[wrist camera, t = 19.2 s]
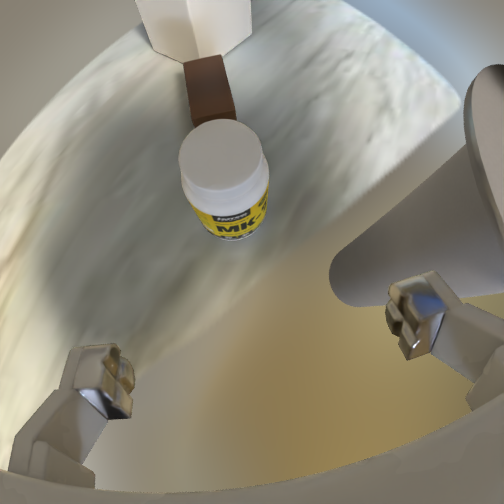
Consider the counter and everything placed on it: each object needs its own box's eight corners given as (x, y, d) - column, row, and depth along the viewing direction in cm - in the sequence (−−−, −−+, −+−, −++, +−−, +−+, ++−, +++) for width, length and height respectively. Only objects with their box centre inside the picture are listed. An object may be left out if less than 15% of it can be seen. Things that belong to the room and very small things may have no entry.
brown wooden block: (192, 92, 24) (182, 62, 20) (225, 84, 24) (221, 53, 21) (201, 148, 23) (191, 119, 19) (239, 139, 23) (235, 109, 19)
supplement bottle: (222, 254, 22) (199, 220, 13) (188, 201, 22) (152, 144, 14) (280, 217, 22) (291, 164, 14) (243, 167, 23) (235, 97, 15)
